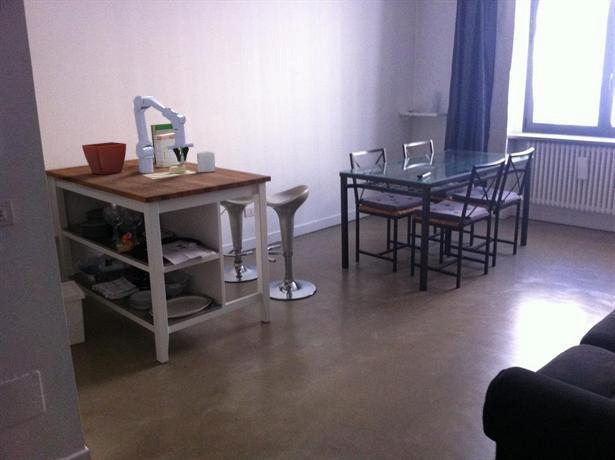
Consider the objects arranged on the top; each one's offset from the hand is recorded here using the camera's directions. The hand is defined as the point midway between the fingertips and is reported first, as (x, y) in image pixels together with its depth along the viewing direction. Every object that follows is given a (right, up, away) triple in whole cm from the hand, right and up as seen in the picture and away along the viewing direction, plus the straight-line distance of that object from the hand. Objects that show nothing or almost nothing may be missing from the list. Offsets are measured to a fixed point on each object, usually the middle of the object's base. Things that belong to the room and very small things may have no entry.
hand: (182, 161), depth 333 cm
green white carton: (-21, +7, +60) cm, 64 cm away
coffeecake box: (-16, +2, +41) cm, 45 cm away
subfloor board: (-8, -7, +4) cm, 11 cm away
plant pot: (-49, -4, +22) cm, 54 cm away
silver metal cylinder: (0, -2, 0) cm, 2 cm away
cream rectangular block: (-4, -5, +7) cm, 10 cm away
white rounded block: (+12, -5, +10) cm, 17 cm away
